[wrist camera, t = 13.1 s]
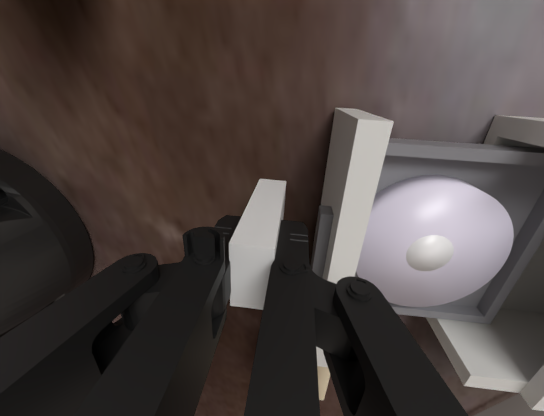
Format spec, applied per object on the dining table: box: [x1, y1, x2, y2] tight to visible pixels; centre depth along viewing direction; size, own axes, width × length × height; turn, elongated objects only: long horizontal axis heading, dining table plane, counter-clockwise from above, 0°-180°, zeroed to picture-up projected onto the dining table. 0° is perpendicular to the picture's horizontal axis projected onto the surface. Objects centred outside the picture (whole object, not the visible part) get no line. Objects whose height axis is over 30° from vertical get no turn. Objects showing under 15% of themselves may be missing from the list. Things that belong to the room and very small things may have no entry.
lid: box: [356, 175, 514, 307], centre depth 14 cm, size 8×8×2 cm
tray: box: [310, 108, 544, 367], centre depth 14 cm, size 12×14×6 cm
